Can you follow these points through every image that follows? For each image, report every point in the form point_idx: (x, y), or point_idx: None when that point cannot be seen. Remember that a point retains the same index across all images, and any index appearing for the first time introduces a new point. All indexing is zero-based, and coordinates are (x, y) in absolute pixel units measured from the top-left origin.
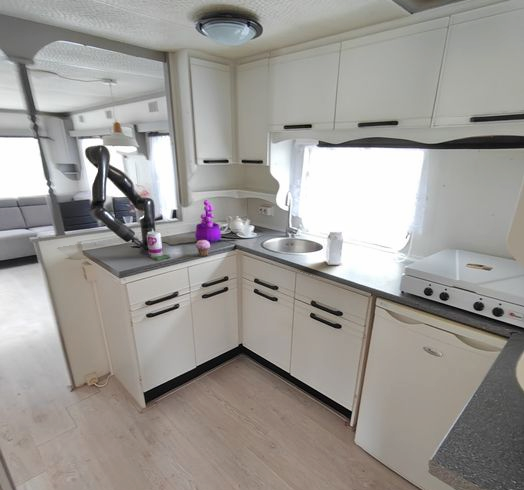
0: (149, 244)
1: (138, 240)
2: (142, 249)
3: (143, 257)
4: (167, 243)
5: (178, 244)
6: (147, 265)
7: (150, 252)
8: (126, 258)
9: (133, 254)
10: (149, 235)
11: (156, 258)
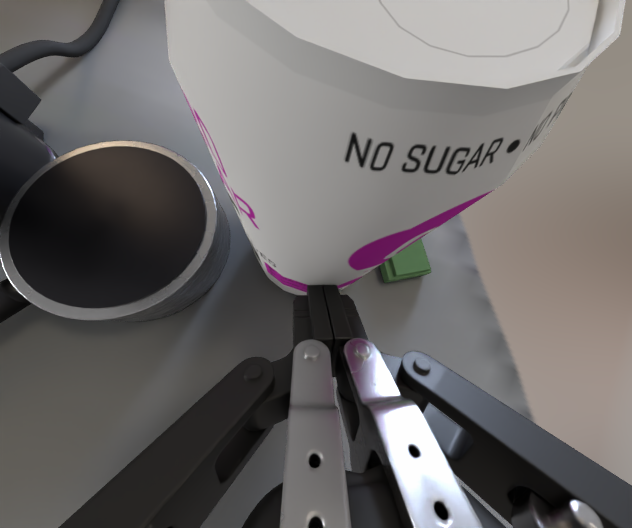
0: (376, 263)
1: (341, 495)
2: (139, 314)
3: (287, 346)
4: (56, 49)
5: (113, 10)
6: (512, 378)
7: (345, 285)
8: (222, 522)
9: (120, 411)
10: (524, 143)
11: (418, 272)
